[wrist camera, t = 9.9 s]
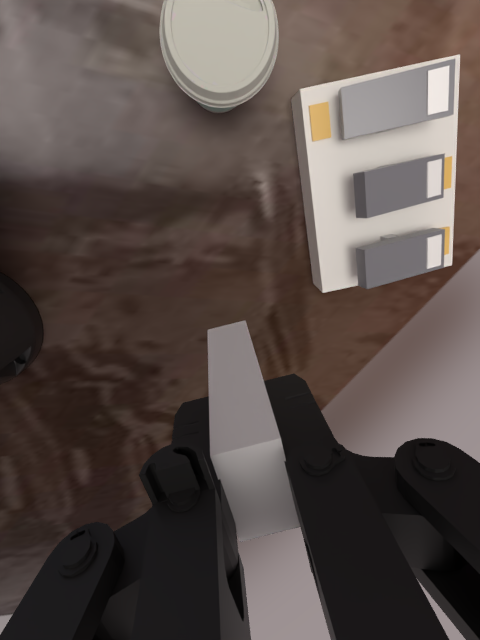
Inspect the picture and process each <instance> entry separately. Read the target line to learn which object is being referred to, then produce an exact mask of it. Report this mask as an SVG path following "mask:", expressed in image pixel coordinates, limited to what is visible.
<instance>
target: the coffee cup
mask: <svg viewBox="0 0 480 640" xmlns="http://www.w3.org/2000/svg"><path fill="white" fill-rule="evenodd" d="M278 40H279V31H278V20H277V15H276V11H275V7H274V4H273V2H272V0H164V3H163V6H162V11H161V17H160V44H161V49H162V54H163V57H164V60H165V63H166V66H167V68H168V70H169V72H170V74H171V76H172V77H173V79H174V80H175V82H176V83H177V84H178V86H179V87H180V88H181V89H182V90H183V91H184V92H185V93H186V94H187V95H189V96H190V97H191V98H193V99H194V100H196V101H197V102H198V104H199V105H200V106H202V107H203V108H204V109H206V110H208V111H210V112H213V113H225V112H228V111H230V110H232V109H233V108H235V107H236V106H237V105H239V104H242V103H244V102H246V101H247V100H249V99H250V98H252V97H253V96H254V95H255V94H256V93H258V91H259V90H260V89H261V88H262V87H263V86H264V84H265V83H266V81H267V80H268V78H269V76H270V74H271V72H272V70H273V67H274V64H275V61H276V57H277V51H278Z"/></svg>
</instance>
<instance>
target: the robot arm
mask: <svg viewBox="0 0 480 640" xmlns="http://www.w3.org/2000/svg"><path fill="white" fill-rule="evenodd" d="M42 339H43V327H42V322H41V318H40V315H39V313H38V310H37V308H36V306H35V305H34V303H33V301H32V300H31V299H30V297H29V296H28V295H27V293H26V292H25V291H24V290H23V289H22V288H21V287H20V286H19V285H18V284H16V283H15V282H14V281H13V280H11V279H10V278H8V277H7V276H5V275H4V274H2V273H0V384H2V383H5V382H7V381H9V380H11V379H13V378H14V377H16V376H17V375H19V374H20V373H21V372H22V371H23V370H24V369H26V368H27V367H28V366H29V365H30V364H31V363H32V362H33V360H34V359H35V358H36V356H37V355H38V353H39V350H40V348H41V345H42ZM208 377H209V396H208V397H204V398H200V399H196V400H192V401H188V402H184V403H183V404H182V405H181V407H180V408H179V410H178V411H177V413H176V414H175V420H174V427H173V428H174V430H173V435H172V440H173V441H172V443H171V445H168V446H166V447H163V448H162V449H160V450H159V451H157V452H156V453H154V454H153V455H152V456H151V457H150V458H149V459H148V460H147V461H146V463H145V464H144V465H143V467H142V470H141V472H140V474H139V476H140V478H141V481H142V483H143V485H144V487H145V489H146V491H147V493H148V496H149V498H150V500H151V502H152V504H153V505H152V508H150V509H149V510H148V511H147V512H146V513H145V514H143V515H142V516H140V517H139V518H137V519H135V520H134V521H132V522H130V523H128V524H126V525H125V526H123V527H121V528H119V529H117V530H116V531H114V532H113V530H112V529H111V528H110V527H109V526H108V525H107V524H104V523H100V522H95V523H90V524H86V525H84V526H82V527H80V528H78V529H76V530H74V531H72V532H71V533H70V534H69V535H68V536H66V537H65V538H64V539H63V540H62V541H61V542H59V544H58V545H57V546H56V548H55V549H54V550H53V551H52V553H51V554H50V555H49V557H48V558H47V560H46V562H45V563H44V565H43V566H42V568H41V570H40V571H39V573H38V575H37V576H36V578H35V579H34V581H33V583H32V584H31V586H30V588H29V589H28V591H27V592H26V594H25V596H24V597H23V599H22V601H21V602H20V604H19V605H18V607H17V609H16V610H15V612H14V614H13V615H12V617H11V618H10V620H9V622H8V623H7V625H6V627H5V628H4V630H3V632H2V633H1V635H0V640H251V636H250V627H249V617H248V607H247V597H246V588H245V578H244V569H243V565H242V562H241V558H240V555H239V553H238V545H237V535H238V538H239V541H240V542H243V541H246V540H251V539H254V538H258V537H262V536H266V535H270V534H274V533H278V532H282V531H286V530H290V529H293V528H298V527H301V530H302V534H303V538H304V542H305V546H306V551H307V555H308V559H309V563H310V567H311V572H312V573H313V576H314V579H315V583H316V587H317V591H318V594H319V598H320V601H321V605H322V609H323V612H324V616H325V619H326V623H327V626H328V630H329V634H330V637H331V640H449V638H448V636H447V635H446V633H445V631H444V629H443V627H442V625H441V624H440V622H439V620H438V618H437V616H436V614H435V612H434V610H433V609H432V607H431V605H430V603H429V601H428V599H427V597H426V595H425V594H424V592H423V590H422V588H421V586H420V584H419V582H420V583H421V584H422V585H423V587H424V588H425V589H426V590H427V592H428V593H429V594H430V595H431V597H432V598H433V599H434V600H435V602H436V603H437V604H438V605H439V606H440V608H441V609H442V610H443V612H444V613H445V614H446V615H447V617H448V618H449V619H450V620H451V622H452V623H453V624H454V625H455V626H456V628H457V629H458V630H459V632H460V633H461V634H462V635H463V637H464V638H465V639H466V640H480V463H479V462H477V461H476V460H475V459H473V458H472V457H470V456H469V455H468V454H466V453H464V452H463V451H462V450H461V449H459V448H457V447H455V446H453V445H451V444H449V443H447V442H444V441H440V440H436V439H431V438H430V439H429V438H428V439H427V438H418V439H414V440H411V441H407V442H405V443H404V444H403V445H402V446H400V447H399V448H398V449H397V452H396V454H395V457H393V458H392V457H368V456H362V455H358V454H355V453H352V452H350V451H348V450H346V449H345V448H344V447H343V446H342V445H340V444H339V443H338V442H337V441H336V439H335V438H334V436H333V434H332V432H331V430H330V428H329V426H328V424H327V422H326V421H325V419H324V417H323V415H322V413H321V411H320V409H319V407H318V405H317V403H316V402H315V399H314V397H313V395H312V394H311V391H310V389H309V387H308V385H307V383H306V381H305V380H303V379H302V378H300V377H298V376H297V375H295V374H290V375H286V376H282V377H279V378H275V379H271V380H267V381H263V377H262V374H261V371H260V367H259V364H258V361H257V357H256V354H255V351H254V347H253V344H252V341H251V337H250V334H249V331H248V327H247V324H246V321H241V322H237V323H233V324H229V325H225V326H221V327H217V328H213V329H209V330H208ZM236 532H237V534H236ZM416 578H417V579H418V580H419V582H418V580H417V579H416Z"/></svg>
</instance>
